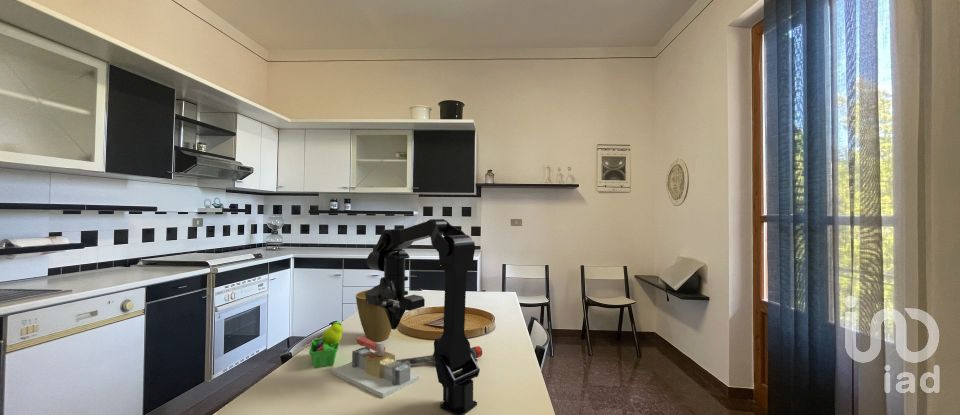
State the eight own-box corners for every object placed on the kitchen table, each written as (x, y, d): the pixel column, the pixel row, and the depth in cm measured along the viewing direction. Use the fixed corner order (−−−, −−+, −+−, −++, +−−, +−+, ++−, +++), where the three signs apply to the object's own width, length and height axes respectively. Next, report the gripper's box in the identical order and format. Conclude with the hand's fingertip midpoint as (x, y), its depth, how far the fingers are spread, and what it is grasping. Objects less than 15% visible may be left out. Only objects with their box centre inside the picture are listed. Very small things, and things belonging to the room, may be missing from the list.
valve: (476, 354, 120) (487, 367, 106) (396, 365, 114) (395, 379, 100) (475, 334, 121) (485, 344, 106) (395, 344, 115) (394, 355, 101)
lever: (386, 354, 100) (386, 345, 100) (379, 356, 98) (379, 347, 98) (363, 344, 107) (363, 335, 107) (356, 346, 105) (356, 337, 105)
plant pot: (353, 334, 132) (353, 290, 132) (394, 329, 138) (394, 287, 138) (357, 349, 118) (358, 300, 118) (403, 342, 125) (403, 295, 125)
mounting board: (419, 379, 98) (419, 375, 98) (383, 397, 88) (383, 393, 88) (367, 359, 111) (367, 355, 111) (331, 373, 101) (331, 369, 101)
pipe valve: (412, 382, 96) (412, 361, 96) (397, 389, 91) (397, 368, 92) (365, 362, 107) (365, 344, 107) (349, 368, 103) (350, 349, 103)
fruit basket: (312, 355, 113) (313, 319, 113) (343, 351, 116) (343, 316, 116) (308, 370, 103) (309, 330, 103) (342, 366, 105) (342, 327, 106)
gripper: (349, 274, 101) (349, 330, 101) (394, 282, 90) (394, 345, 90) (381, 268, 110) (381, 320, 110) (426, 275, 99) (425, 332, 99)
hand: (394, 329), depth 102 cm, fingers closed
